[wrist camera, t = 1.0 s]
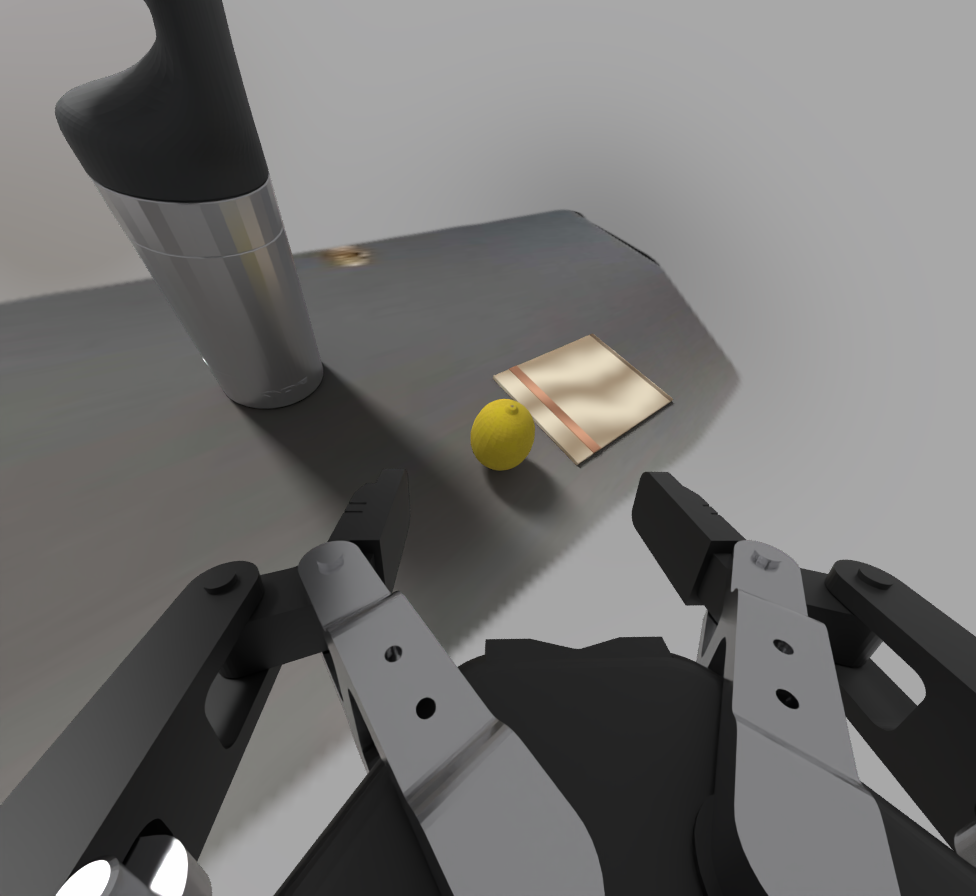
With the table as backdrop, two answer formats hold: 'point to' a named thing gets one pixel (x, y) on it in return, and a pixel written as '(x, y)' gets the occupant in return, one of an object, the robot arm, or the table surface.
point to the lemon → (502, 434)
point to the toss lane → (583, 395)
